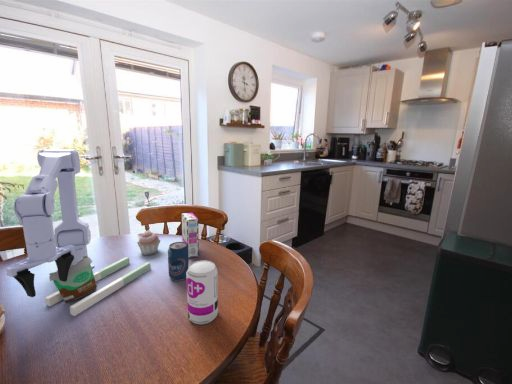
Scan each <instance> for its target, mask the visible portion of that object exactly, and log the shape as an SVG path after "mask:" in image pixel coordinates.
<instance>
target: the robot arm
mask: <svg viewBox="0 0 512 384" xmlns="http://www.w3.org/2000/svg"><path fill="white" fill-rule="evenodd" d="M36 157H37V163H38V165H39V167H40V170H39V174H37V175H35V176H33V177H32V178H31V179H30V182H29V183H28V186H27V187H26V190H25V192H24V194H21V195H19V196H17V197H16V198H15V199H14V203H13V207H14V209H13V210H14V211H13V212H14V214H15V216H16V218H17V219H18V223H19V225H20V226H21V227H22V229H23V236H24V241H25V247H26V253H27V257H26V258H24V259H22V260H20V261H18V262H17V263H14V264H12V265H10V266H7V267H5V271H6V275H7V276H9V277H11V278H13V279H15V280H16V281H17V282H18V283H19V285H21V287H22V288H23V290H24V291H25V294H26V295H27V297H29V298H34V297H36V295H37V293H36V288H35V275H36V274H35V273H32V272H31V270H30V269H33V268H35V267H38V266H41V265H43V264H45V263H48V264H49V263H52V262H55V265H56V268H57V269H56V271H55V272H57V271H58V275H59V279H60V281H63V282H65V281H67V277H68V272H69V268H70V266H71V264H74V263H77V262H79V261H81V260H82V259H83V256H88V257H89V254H88V248H87V247H88V246H89V244H90V243H91V239H92V237H91V230H90V226H89V224H88V222H86V221H84V220H82V219H80V218H79V210H78V199H77V191H76V188H77V187H76V180H75V179H76V175H77V174H79V173H81V160H80V155H79V153H78V151H77V150H76V149H74V148H73V149H44V148H41V149H39V151H38V152H37V156H36ZM57 188H58V194H59V203H60V204H59V205H60V211H61V212H60V213H61V219H62V221H61V222H60V223H59V224H58V225H56V226H55V229H54V223H53V218H52V216H53V214H54V211H55V193H56V191H57ZM94 267H95V264H92V263H91V268H92V269H93V268H94Z"/></svg>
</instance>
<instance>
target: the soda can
mask: <svg viewBox="0 0 512 384" xmlns="http://www.w3.org/2000/svg"><path fill="white" fill-rule="evenodd" d="M189 259H190V258H189V254H188V247H187V246H186V243H184V242H182V241H176V242H172V243H170V244H169V247H168V250H167V261H168V262H167V265H168V267H167V268H168V276H169V278H170V279H171V280H172V281H176V282H178V281H183V280H185V279H187V278H186V272H187V270H188V268H189V266H190V261H189Z"/></svg>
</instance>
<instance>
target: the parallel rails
mask: <svg viewBox="0 0 512 384" xmlns="http://www.w3.org/2000/svg"><path fill="white" fill-rule="evenodd" d="M129 264H130V257H128V256H125V257H123V258H121V259H119V260H117V261H115V262H113V263H111V264H109V265H107V266H105V267H103V268H101V269H99V270H97V271H95V272H93V275H94V278H95V282H98V281H100V280H102V279H103V278H105V277H107V276H109V275H111V274H113V273H114V272H116V271H119V270H120V269H122V268H123V267H126V266H127V265H129ZM151 269H152V268H151V262H148V261H147V262H144V263H143V264H142V265H139V266H137V267H136V268H135V269H134V268H133V270H131V271H129V272H127V273H125V274H124V275H122V276H120V277H119V278H117V279H115V280H114V281H112V282H110V283H108V284H107V285H105V286H104V287H101V288H100V289H98V290H96V291H95V292H92V293H91V294H90V295H87V296H85V297H84V298H82V299H81V300H79V301H77V302H75V303H74V304H72V305H70V306H69V311H70V315H71V316H73V317H76V316H78V315H79V314H80V313H82V312H84V311H85V310H87V309H88V308H89V309H90V307H92V306H94V305H95V304H96V303H98V302H100V301H102V300H103V299H104V298H105V299H106V297H108V296H110V295H111V294H112V293H114V292H117V291H118V290H119V289H121V288H123V287H124V286H125V285H127V284H129V283H130V282H132V281H134V280H135V279H137V278H138V277H140V276H142V275H143V274H146V273H147V272H149V270H151ZM44 298H45V299H44V300H45V304H46V306H48V307H51V306H53V305H55V304H57V303H59V302H61V301H62V300H63V301H64V299H63V297H62V296H61V294H60V292H59V290H57V291H55V292H53V293H51V294H49V295H47V296H45V297H44Z"/></svg>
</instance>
